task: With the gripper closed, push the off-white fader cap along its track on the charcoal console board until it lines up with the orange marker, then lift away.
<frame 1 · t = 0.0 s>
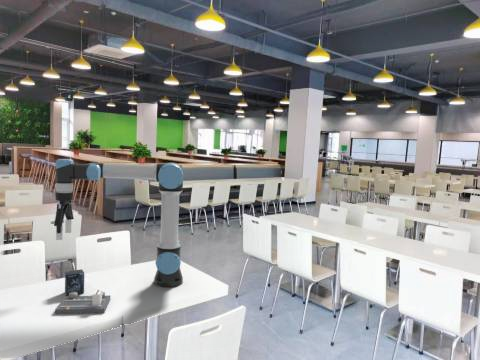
hand: (64, 236, 178), 28 cm above the table, fingers open, 13 cm apart
box: (74, 293, 181), on the table
console: (84, 306, 167), on the table
fader: (97, 297, 165), point 5 cm above the table, slide at -6.0 cm
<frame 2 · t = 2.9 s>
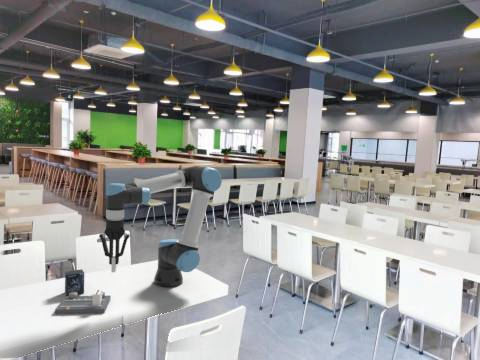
hand: (113, 271, 165), 17 cm above the table, fingers closed
nothing on the table moved.
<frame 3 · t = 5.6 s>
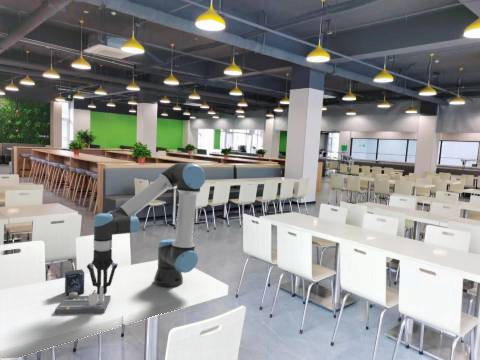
hand: (101, 300, 166), 3 cm above the table, fingers closed
fader: (93, 297, 165), point 5 cm above the table, slide at -4.5 cm, touching gripper
everything else where it was.
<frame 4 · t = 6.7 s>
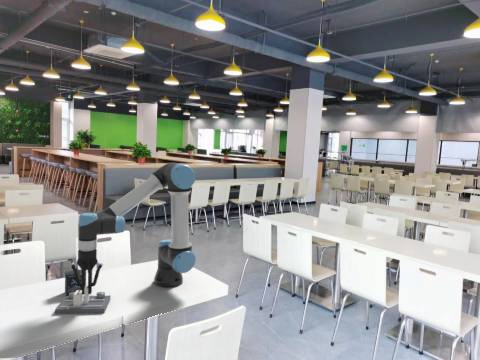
hand: (86, 301, 165), 3 cm above the table, fingers closed
fader: (78, 297, 164), point 5 cm above the table, slide at 1.9 cm, touching gripper
everything else where it was.
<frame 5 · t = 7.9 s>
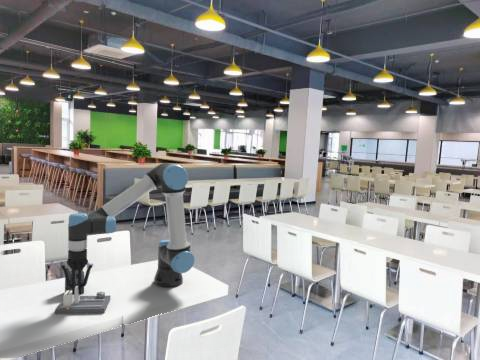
hand: (77, 301, 164), 3 cm above the table, fingers closed
fader: (68, 297, 164), point 5 cm above the table, slide at 6.0 cm, touching gripper
everything else where it was.
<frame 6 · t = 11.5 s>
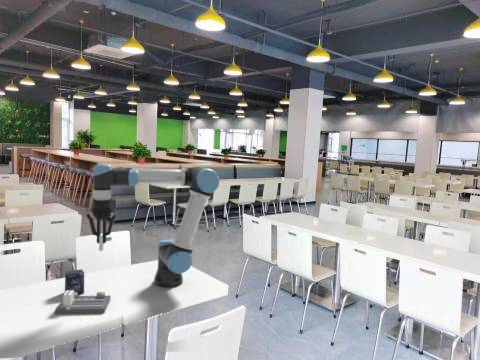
hand: (101, 250, 171), 24 cm above the table, fingers closed
fader: (68, 297, 164), point 5 cm above the table, slide at 6.0 cm
everything else where it was.
at the end: fader slide at 6.0 cm; fader touching nothing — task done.
